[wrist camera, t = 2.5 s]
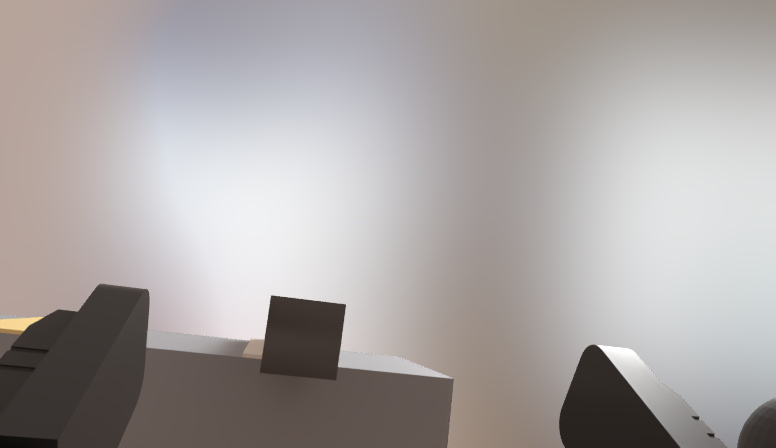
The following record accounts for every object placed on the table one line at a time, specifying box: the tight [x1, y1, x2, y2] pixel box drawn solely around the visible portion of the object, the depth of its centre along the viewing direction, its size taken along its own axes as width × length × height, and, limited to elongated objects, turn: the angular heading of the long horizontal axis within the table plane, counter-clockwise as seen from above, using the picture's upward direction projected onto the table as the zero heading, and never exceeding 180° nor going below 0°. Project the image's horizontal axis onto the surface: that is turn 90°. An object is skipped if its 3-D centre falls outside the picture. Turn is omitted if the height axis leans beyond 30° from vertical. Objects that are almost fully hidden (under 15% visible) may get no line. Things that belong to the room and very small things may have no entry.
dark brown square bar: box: [260, 296, 346, 380], centre depth 34 cm, size 22×3×3 cm, turn 11°
